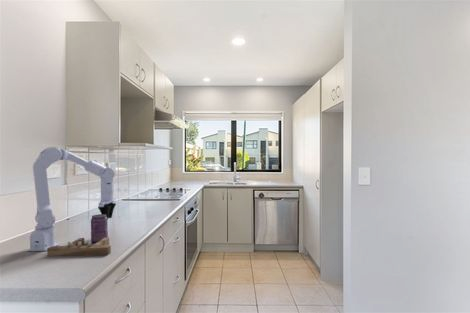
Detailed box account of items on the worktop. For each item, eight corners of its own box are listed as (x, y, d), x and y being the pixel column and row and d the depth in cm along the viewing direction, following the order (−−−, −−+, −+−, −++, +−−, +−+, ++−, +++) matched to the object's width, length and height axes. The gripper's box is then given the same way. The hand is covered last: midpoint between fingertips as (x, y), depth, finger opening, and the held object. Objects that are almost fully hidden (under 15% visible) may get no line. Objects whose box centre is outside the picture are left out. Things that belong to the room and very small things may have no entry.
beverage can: (103, 238, 141) (102, 213, 141) (110, 240, 137) (110, 215, 137) (88, 241, 136) (87, 215, 136) (95, 244, 131) (95, 217, 131)
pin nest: (107, 255, 117) (107, 242, 117) (47, 256, 116) (47, 243, 116) (121, 244, 131) (121, 232, 131) (67, 244, 131) (67, 233, 131)
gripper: (109, 193, 138) (109, 222, 138) (120, 189, 152) (120, 215, 152) (94, 193, 138) (94, 222, 138) (107, 190, 152) (107, 215, 152)
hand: (107, 218), depth 145 cm, fingers open, 4 cm apart
